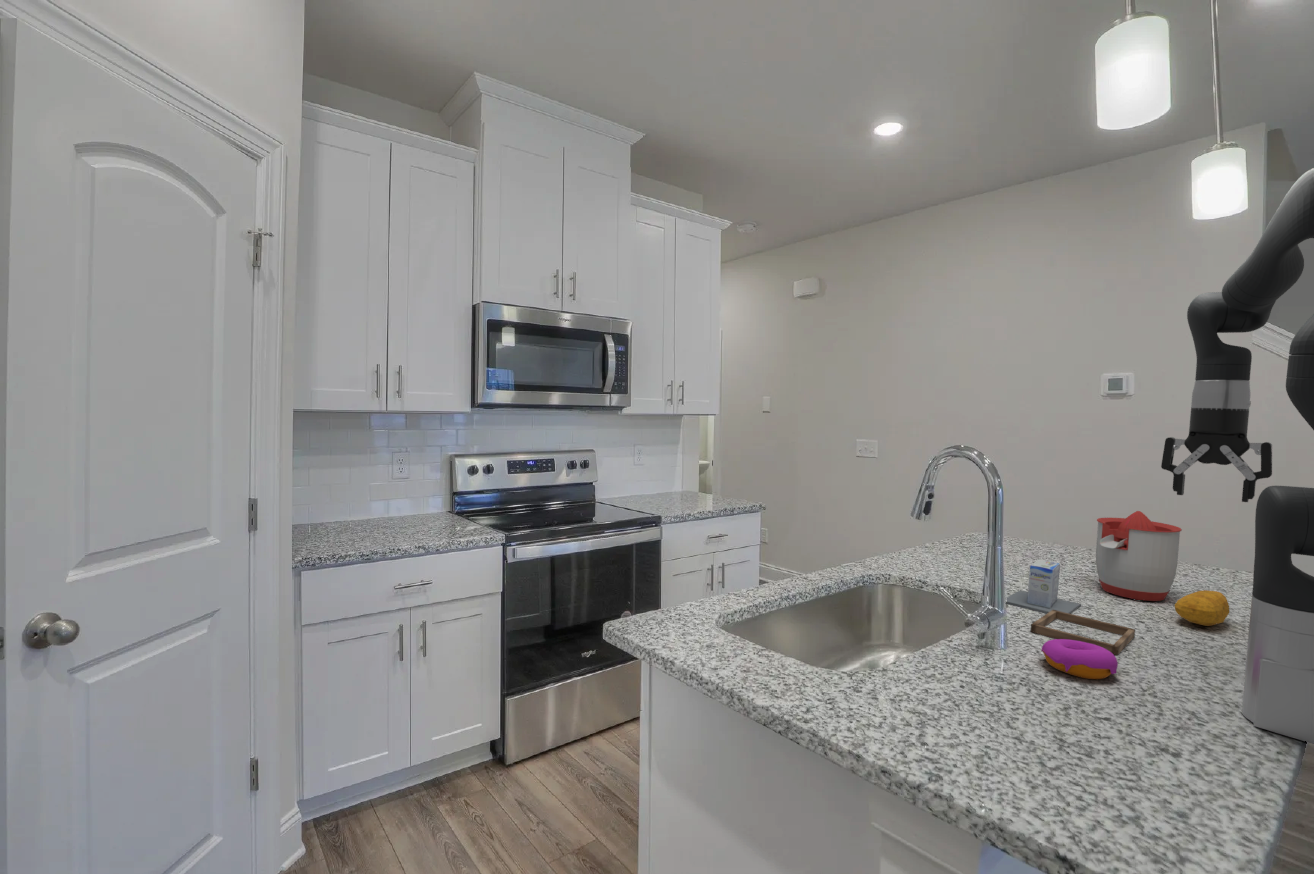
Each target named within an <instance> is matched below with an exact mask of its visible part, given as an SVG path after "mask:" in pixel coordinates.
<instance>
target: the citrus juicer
mask: <svg viewBox="0 0 1314 874" xmlns="http://www.w3.org/2000/svg"><path fill="white" fill-rule="evenodd" d="M1096 521H1097V534H1096V546H1095V565H1096V572H1097V575H1098V581H1099V584H1100V586H1101V588H1102V590H1104V591H1105V592H1106V593H1110V594H1112V595H1115V596H1119V597H1124V598H1126V599H1128V598H1129V599H1131V600H1132V599H1135V600H1134V601H1136V600H1143V601H1150V602H1161V601H1163V600H1165V599H1166V597H1168V595H1169V593H1170V591H1171V588H1172V586H1173V584H1174V580H1175V578H1176V574H1177V568H1178V561H1179V560H1178V559H1179V549H1180V548H1179V547H1180V537H1181V535H1180V534H1181V532H1182V530H1183V529H1182V528H1181V527H1179V526H1176V525H1172V524H1168V523H1164V522H1163V523H1162V522H1159V521H1151V520H1150V518H1149V517H1148V516H1147V515H1146V514H1145V513H1144V512H1142V511H1140V510H1136V511H1135V512H1133V513H1131V514H1129V515H1128V516H1127V517H1099V518H1096Z"/></svg>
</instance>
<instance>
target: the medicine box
mask: <svg viewBox="0 0 1314 874" xmlns="http://www.w3.org/2000/svg"><path fill="white" fill-rule="evenodd" d="M1060 570H1061V564H1060V563H1059V562H1055V561H1050V560H1046V559H1039V558H1038V559H1036V561H1035V562H1033V563H1032V564H1031V565H1030V566H1029V575H1028V591H1027V592H1028V600H1027V603H1028V604H1032V605H1036V606H1040V607H1045V608H1051V606H1052V605H1053V604H1054V602H1055V601H1056V600H1057V599H1058V595H1059V584H1060V583H1059V582H1060V573H1061V572H1060Z"/></svg>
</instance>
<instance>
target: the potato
mask: <svg viewBox="0 0 1314 874" xmlns="http://www.w3.org/2000/svg"><path fill="white" fill-rule="evenodd" d="M1173 607H1174V610H1175V613H1176V614H1177V615H1179V617H1180V618H1182V619H1184V620H1186V621H1188V622H1189V623H1191V624H1192V623H1193V624H1195V625H1201V626H1205V627H1206V626H1207V627H1211V626H1212V627H1213V626H1215V625H1218V624H1219V625H1220V624H1222V623H1224V622H1225V620H1226V618H1227V617H1228V615H1230V605H1229V602H1228V599H1227V596H1226V595H1224V594H1223V593H1222V592H1220V591H1216V590H1197V591H1196V592H1195V591H1194V592H1191V593H1188V594H1186V595H1184V596H1182V597H1181V598H1179V599H1177V601H1176V602H1175V603H1174V606H1173Z"/></svg>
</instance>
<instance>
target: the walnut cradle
mask: <svg viewBox="0 0 1314 874" xmlns="http://www.w3.org/2000/svg"><path fill="white" fill-rule="evenodd" d="M1055 620H1060V621H1064V622H1067V623H1068V622H1069V623H1071V624H1076V625H1080V626H1083V627H1088V628H1092V629H1096V630H1100V631H1103V632H1108V633H1111V634H1116V635H1119V634H1120V637H1119V638H1118V639H1117V640H1116V641H1115V643H1113V644H1112V643H1108V642H1104V641H1102V640H1097V639H1094V638H1090V637H1086V636H1083V635H1080V634H1079V635H1078V634H1075V633H1072V632H1066V631H1063V630H1059V629H1056V628H1051V627H1048V625H1049V624H1050V623H1052V622H1054V621H1055ZM1030 633H1032V634H1033V633H1034V634H1036V635H1041V636H1044V637H1047V638H1052V639H1068V640H1076V641H1081V642H1086V643H1090V644H1094V645H1097V646H1100V647H1103V648H1105V649H1107V650H1108V651H1110V652H1111V653H1112V654H1113V655H1114V656H1118V655H1119V654H1120V653H1121V652H1122V651H1123V650H1124V649H1125V648H1126V647H1127V646H1128V645H1129V644H1130V642H1131V641H1132V640H1133V639H1134V638H1135V634H1136V629H1135V628H1131V627H1127V626H1122V625H1119V624H1115V623H1109V622H1107V621H1106V622H1105V621H1101V620H1098V619H1094V618H1090V617H1085V616H1081V615H1077V614H1073V613H1071V614H1069V613H1065V612H1061V611H1057V610H1052V611H1050V612H1049V613H1047V614H1046V613H1045V614H1044V615H1043V616H1041V617H1040V618H1038V619H1037V620H1035V621H1034V622H1032V623H1031V624H1030ZM1127 644H1128V645H1127Z"/></svg>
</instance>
